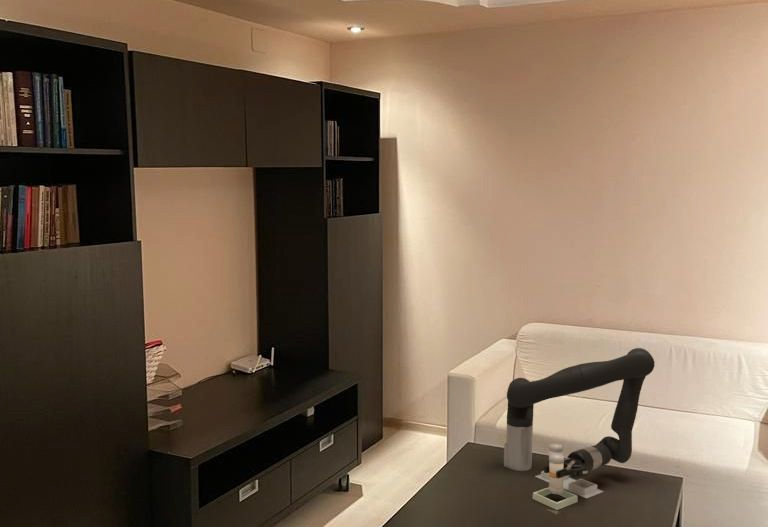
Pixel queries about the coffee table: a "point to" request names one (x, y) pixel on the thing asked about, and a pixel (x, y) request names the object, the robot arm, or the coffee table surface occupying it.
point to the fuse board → (575, 485)
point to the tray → (555, 505)
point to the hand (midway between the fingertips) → (551, 472)
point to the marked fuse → (554, 465)
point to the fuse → (555, 447)
